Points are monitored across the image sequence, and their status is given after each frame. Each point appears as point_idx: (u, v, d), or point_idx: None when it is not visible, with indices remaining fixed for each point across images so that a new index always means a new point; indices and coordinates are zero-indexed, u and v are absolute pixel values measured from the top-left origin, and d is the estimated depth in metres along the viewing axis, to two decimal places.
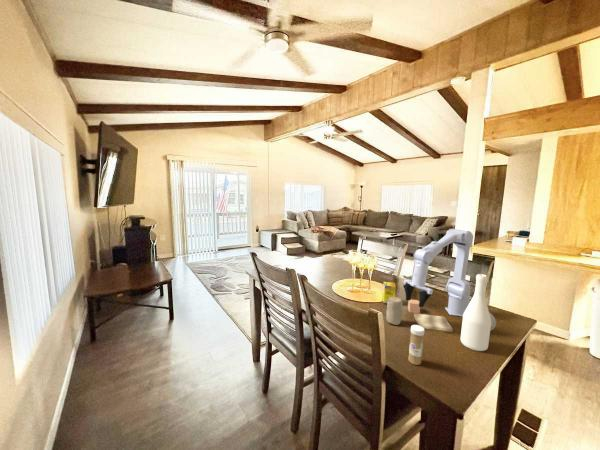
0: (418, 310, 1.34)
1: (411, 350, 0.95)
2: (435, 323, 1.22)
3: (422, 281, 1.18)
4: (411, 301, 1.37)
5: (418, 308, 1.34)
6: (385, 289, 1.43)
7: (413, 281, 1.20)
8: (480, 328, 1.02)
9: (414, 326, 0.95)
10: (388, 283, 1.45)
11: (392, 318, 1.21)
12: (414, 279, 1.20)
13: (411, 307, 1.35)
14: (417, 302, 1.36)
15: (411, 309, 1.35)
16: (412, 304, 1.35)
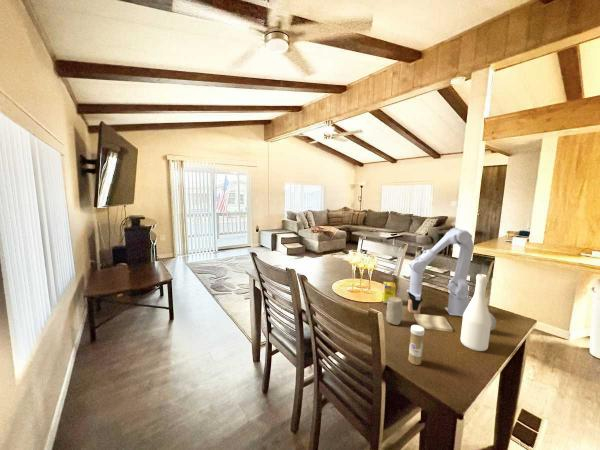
0: (418, 310, 1.34)
1: (411, 350, 0.95)
2: (435, 323, 1.22)
3: (414, 288, 1.33)
4: (411, 301, 1.37)
5: (418, 308, 1.34)
6: (385, 289, 1.43)
7: None
8: (480, 328, 1.02)
9: (414, 326, 0.95)
10: (388, 283, 1.45)
11: (392, 318, 1.21)
12: None
13: (411, 307, 1.35)
14: None
15: (411, 309, 1.35)
16: None
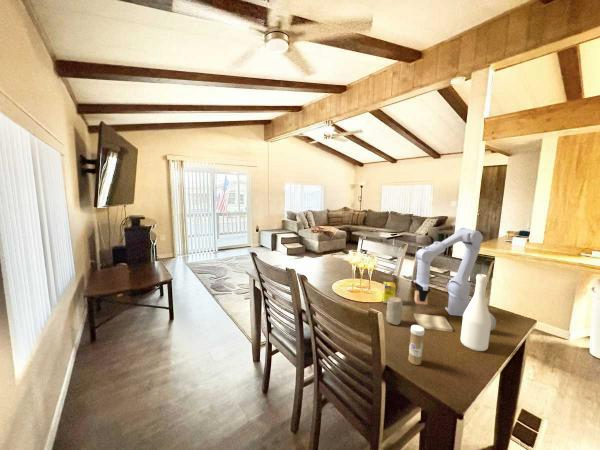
0: (425, 301, 1.29)
1: (411, 350, 0.95)
2: (435, 323, 1.22)
3: (422, 278, 1.28)
4: (418, 292, 1.32)
5: (425, 299, 1.29)
6: (385, 289, 1.43)
7: (416, 278, 1.31)
8: (480, 328, 1.02)
9: (414, 326, 0.95)
10: (388, 283, 1.45)
11: (392, 318, 1.21)
12: None
13: (418, 298, 1.30)
14: None
15: (418, 300, 1.30)
16: None
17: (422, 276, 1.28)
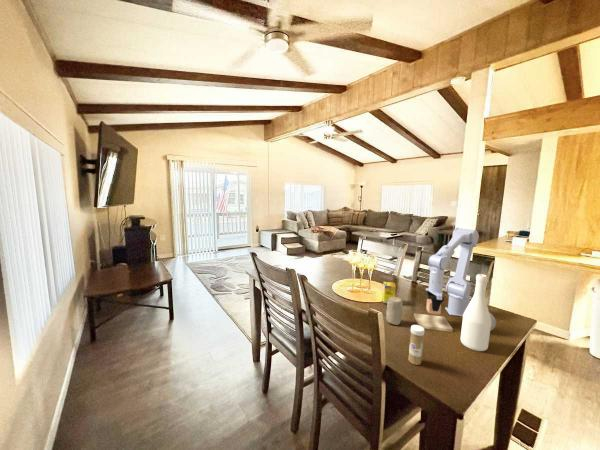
0: (439, 311, 1.21)
1: (411, 350, 0.95)
2: (435, 323, 1.22)
3: (435, 286, 1.19)
4: (430, 301, 1.23)
5: (439, 309, 1.20)
6: (385, 289, 1.43)
7: None
8: (480, 328, 1.02)
9: (414, 326, 0.95)
10: (388, 283, 1.45)
11: (392, 318, 1.21)
12: (429, 284, 1.22)
13: (431, 307, 1.21)
14: None
15: (431, 310, 1.21)
16: None
17: (435, 284, 1.19)
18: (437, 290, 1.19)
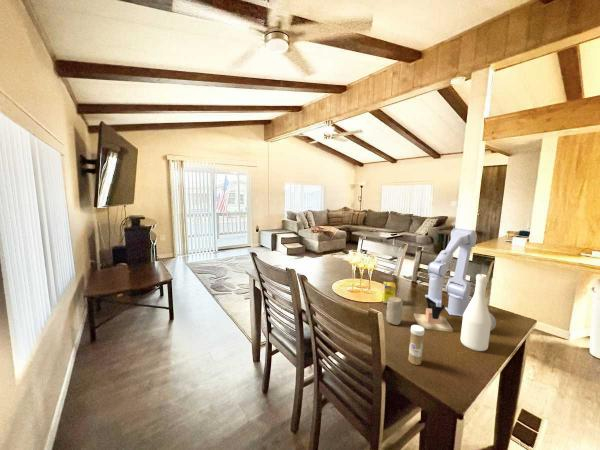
0: (438, 320, 1.21)
1: (411, 350, 0.95)
2: None
3: (434, 293, 1.20)
4: (429, 310, 1.24)
5: (438, 318, 1.21)
6: (385, 289, 1.43)
7: (428, 293, 1.23)
8: (480, 328, 1.02)
9: (414, 326, 0.95)
10: (388, 283, 1.45)
11: (392, 318, 1.21)
12: (428, 291, 1.23)
13: (430, 317, 1.22)
14: None
15: (430, 319, 1.22)
16: (431, 314, 1.22)
17: (435, 291, 1.20)
18: (436, 297, 1.20)
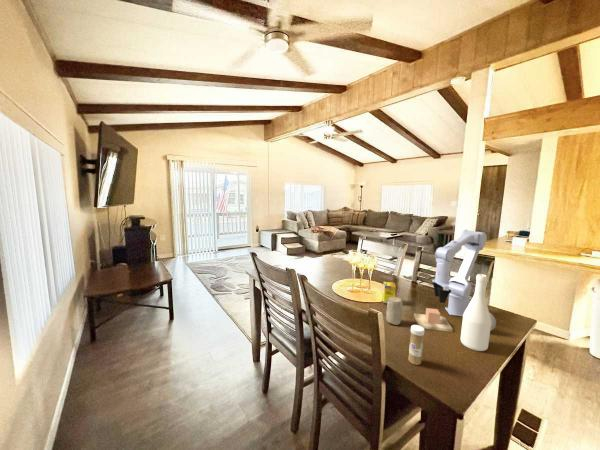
0: (438, 320, 1.21)
1: (411, 350, 0.95)
2: None
3: (441, 278, 1.23)
4: (429, 310, 1.24)
5: (438, 318, 1.21)
6: (385, 289, 1.43)
7: (435, 277, 1.26)
8: (480, 328, 1.02)
9: (414, 326, 0.95)
10: (388, 283, 1.45)
11: (392, 318, 1.21)
12: (435, 276, 1.26)
13: (430, 317, 1.22)
14: (436, 311, 1.23)
15: (430, 319, 1.22)
16: (431, 314, 1.22)
17: (442, 275, 1.23)
18: (443, 281, 1.23)
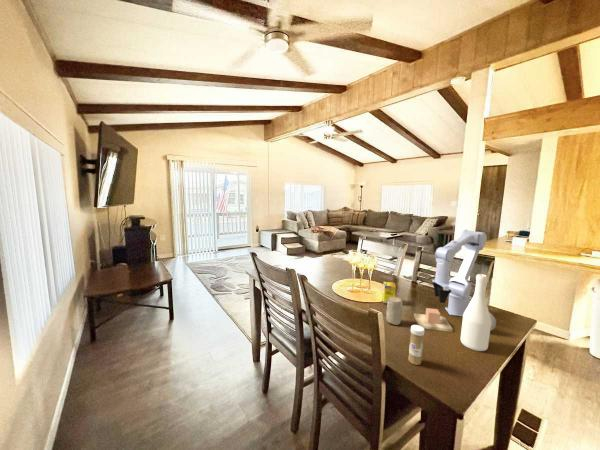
0: (438, 320, 1.21)
1: (411, 350, 0.95)
2: None
3: (441, 278, 1.23)
4: (429, 310, 1.24)
5: (438, 318, 1.21)
6: (385, 289, 1.43)
7: (435, 277, 1.26)
8: (480, 328, 1.02)
9: (414, 326, 0.95)
10: (388, 283, 1.45)
11: (392, 318, 1.21)
12: (435, 276, 1.26)
13: (430, 317, 1.22)
14: (436, 311, 1.23)
15: (430, 319, 1.22)
16: (431, 314, 1.22)
17: (442, 275, 1.23)
18: (443, 281, 1.23)
